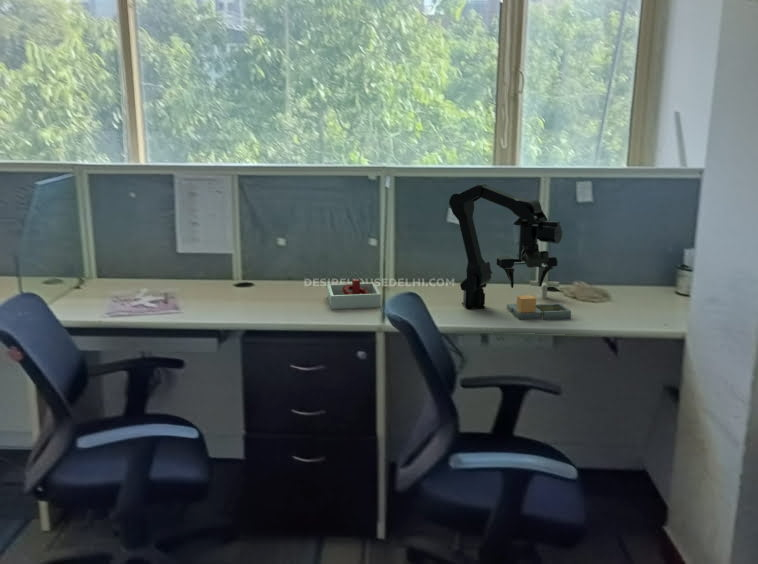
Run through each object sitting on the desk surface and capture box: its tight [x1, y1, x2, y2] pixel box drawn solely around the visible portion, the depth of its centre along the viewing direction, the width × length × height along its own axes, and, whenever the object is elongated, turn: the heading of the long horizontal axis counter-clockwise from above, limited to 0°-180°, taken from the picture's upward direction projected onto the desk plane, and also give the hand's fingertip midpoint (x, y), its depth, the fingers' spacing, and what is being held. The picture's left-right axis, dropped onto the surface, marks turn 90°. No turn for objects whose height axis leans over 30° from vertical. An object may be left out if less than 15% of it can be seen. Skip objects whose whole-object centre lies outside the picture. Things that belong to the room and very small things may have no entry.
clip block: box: [516, 294, 537, 312], centre depth 239 cm, size 5×4×4 cm
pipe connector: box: [529, 271, 560, 299], centre depth 261 cm, size 10×10×10 cm
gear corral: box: [326, 282, 382, 310], centre depth 258 cm, size 17×16×4 cm
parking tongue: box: [506, 303, 517, 314], centre depth 247 cm, size 7×5×2 cm
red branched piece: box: [343, 277, 370, 295], centre depth 257 cm, size 11×12×8 cm
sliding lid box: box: [512, 302, 572, 321], centre depth 241 cm, size 17×9×2 cm, turn 98°
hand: (525, 287), depth 238 cm, fingers open, 9 cm apart
